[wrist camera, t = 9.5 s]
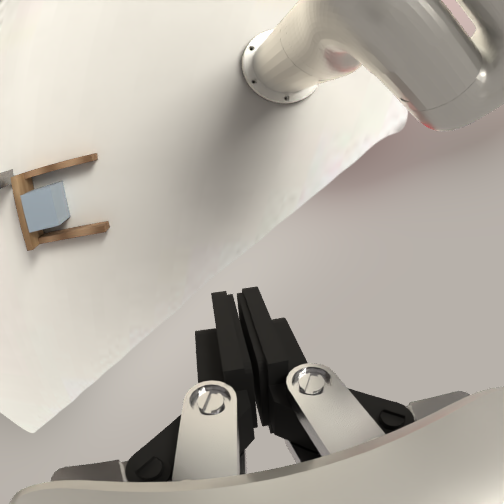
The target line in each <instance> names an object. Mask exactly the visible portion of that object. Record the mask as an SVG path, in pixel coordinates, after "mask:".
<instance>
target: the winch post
mask: <svg viewBox="0 0 504 504" xmlns="http://www.w3.org/2000/svg"><path fill="white" fill-rule="evenodd" d="M10 177H13V169H12V170H9V171H6V172H2V173H0V189H1V188H3V187H6V186H8V185H11V178H10Z"/></svg>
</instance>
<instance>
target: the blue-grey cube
mask: <svg viewBox="0 0 504 504" xmlns="http://www.w3.org/2000/svg"><path fill="white" fill-rule="evenodd" d="M20 197H21V202H22V206H23V210H24V214H25V218H26V222H27V226H28V229H29V233H30V232H34V231H38V230H42V229H46V228H50V227H55V226H59V225H60V224H61V223H63V222H64V221H65V220H67V219H68V218H69V217H70V213H69V208H68V204H67V199H66V195H65V190H64V185H63V181H61V182H57V183H54V184H50V185H47V186H43V187H40V188H37V189H34V190H32V191H29V192H27V193H25V194H23V195H21V196H20Z"/></svg>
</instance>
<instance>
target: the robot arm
mask: <svg viewBox="0 0 504 504" xmlns="http://www.w3.org/2000/svg"><path fill="white" fill-rule="evenodd" d="M456 2H457V3H458V4H459V5H460V7H461V8H462V9H463V10H464V12H465V13H466V14H467V16H468V17H469V18H470V20H471V21H472V22H473V24H474V25H475V27H476V31H475V33H474V35H473V36H472V37H471V38H470V37H469V36H468V35H467V33H466V31H465V30H464V29H463V27H462V26H461V25H460V24H459V22H458V21H457V20H456V19H455V17H454V16H453V15H452V13H451V11H450V10H449V9H448V8H447V7H446V5H445V4H444V3H443V2H442V1H441V0H299V1H298V2H297V3H296V5H295V6H294V7H293V8H292V9H291V10H290V12H289V13H288V14H287V15H286V16H285V17H284V18H283V19H282V20H281V22H280V23H279V24H278V25H277V26H276V27H275V28H274V29H273V30H268V31H265V32H262V33H260V34H259V35H257V36H256V37H254V38H253V39H252V40H251V41H250V42H249V44H248V45H247V47H246V49H245V51H244V53H243V57H242V71H243V74H244V77H245V79H246V81H247V83H248V84H249V86H250V87H251V88H252V89H253V90H254V91H255V92H256V93H257V94H258V95H260V96H261V97H263V98H265V99H267V100H269V101H272V102H276V103H293V102H297V101H300V100H303V99H305V98H306V97H308V96H310V95H311V94H312V93H313V92H314V91H315V90H316V88H317V87H318V85H319V84H321V83H324V82H327V81H330V80H334V79H337V78H340V77H343V76H346V75H349V74H351V73H353V72H354V71H356V70H357V69H358V68H360V67H361V66H362V65H363V66H364V67H365V68H366V69H367V70H368V71H370V72H371V73H372V74H374V75H375V76H376V77H377V78H378V79H379V80H380V81H381V82H382V83H383V84H384V85H385V86H386V87H387V88H388V89H389V90H390V91H391V92H392V93H393V94H394V95H395V97H396V98H397V99H398V100H399V101H400V102H401V103H402V104H403V105H404V106H405V107H406V109H407V110H408V111H409V112H410V113H411V114H412V115H413V116H414V117H415V118H416V119H417V120H418V121H419V122H420V123H422V124H423V125H425V126H426V127H428V128H430V129H433V130H436V131H453V130H457V129H460V128H463V127H465V126H467V125H469V124H471V123H474V122H476V121H477V120H479V119H481V118H482V117H484V116H486V115H487V114H489V113H490V112H492V111H494V110H495V109H497V108H498V107H500V106H501V105H503V104H504V0H456ZM250 48H251V49H252V51H250V50H249V49H250ZM252 81H254V82H255V83H254V84H253V83H252ZM284 97H286V98H287V99H286V100H285V99H284ZM211 295H212V302H213V309H214V316H215V323H216V329H208V330H200V331H195V340H196V356H197V372H198V384H196V385H195V386H193V387H192V388H190V389H189V391H188V392H187V393H186V395H185V398H184V402H183V409H182V414H181V415H180V416H179V417H178V418H177V419H175V420H174V421H173V422H172V423H171V424H170V425H169V426H167V427H166V428H165V429H164V430H163V431H162V432H160V433H159V434H158V435H157V436H156V437H155V438H153V439H152V440H151V441H150V442H149V443H147V444H146V445H145V446H144V447H142V448H141V449H140V450H139V451H138V452H136V453H135V454H134V455H133V456H132V457H131V458H130V459H129V461H125V462H120V461H119V460H114V461H107V462H101V463H94V464H87V465H79V466H70V467H64V468H60V469H58V470H57V471H56V472H55V473H54V474H53V476H52V478H51V482H44V483H40V484H36V485H32V486H29V487H27V488H24V489H22V490H20V491H19V492H18V493H16V494H15V495H14V497H13V498H12V500H11V501H10V503H9V504H504V387H496V388H490V389H487V390H483V391H480V392H477V393H474V394H472V395H469V394H468V393H466V392H462V391H457V392H452V393H449V394H444V395H440V396H436V397H432V398H428V399H423V400H419V401H414V402H410V403H409V405H408V406H404V405H402V404H399V403H397V402H393V401H389V400H386V399H382V398H379V397H375V396H372V395H368V394H365V393H361V392H358V391H355V390H352V389H348V388H347V387H346V386H345V385H344V384H343V382H342V381H341V380H340V379H339V378H338V376H337V375H336V374H335V373H334V372H333V371H332V370H331V369H330V368H328V367H326V366H324V365H321V364H317V363H307V361H306V359H305V357H304V355H303V353H302V351H301V349H300V347H299V345H298V343H297V341H296V339H295V336H294V334H293V332H292V331H291V328H290V326H289V324H288V322H287V320H286V319H285V318H279V319H273V320H271V318H270V315H269V313H268V311H267V308H266V306H265V303H264V301H263V299H262V296H261V294H260V292H259V289H258V287H251V288H244V289H242V293H237V300H238V309H239V317H238V313H237V309H236V306H235V302H234V298H233V294H230V295H227V293H226V291H223V292H215V293H211ZM255 401H256V404H257V408H258V412H259V416H260V420H261V423H262V426H267V425H268V426H269V429H270V433H274V434H275V435H277V436H279V437H282V438H284V439H285V443H286V445H287V447H288V449H289V451H290V453H291V454H292V456H293V458H294V460H295V462H296V463H297V464H293V465H289V466H285V467H281V468H276V469H271V470H266V471H261V472H255V473H249V474H247V469H246V450H245V449H246V448H247V447H248V445H249V444H250V443H251V442H252V441H253V440H254V429H253V428H257V427H258V425H257V414H256V404H255Z"/></svg>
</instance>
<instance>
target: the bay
mask: <svg viewBox="0 0 504 504" xmlns="http://www.w3.org/2000/svg"><path fill="white" fill-rule="evenodd" d="M97 159H98V158H97V153H95V154H91V155H86V156H82V157H78V158H74V159H70V160H66V161H63V162H59V163H55V164H52V165H48V166H45V167H41V168H38V169H35V170H31V171H28V172H25V173H22V174H19V175H16V176H13V177H10V178H11V184H12V189H13V194H14V199H15V204H16V209H17V213H18V217H19V221H20V225H21V229H22V233H23V237H24V240H25V244H26V247H27V251H29V250H33V249H34V248H35V247H37V246H38V245H39V244H42V243H48V242H53V241H58V240H63V239H69V238H74V237H80V236H85V235H91V234H97V233H103V232H106V231H107V230H108V228H109V227H110V226H109V222H108V221H106V222H100V223H95V224H89V225H84V226H79V227H73V228H68V229H63V230H58V231H53V232H48V233H44V232H43V229H42V230H38V231H34V232H30V233H29V229H28V226H27V222H26V218H25V214H24V210H23V206H22V202H21V197H20V196H21V195H23V194H25V193H27V192H29V191H32V190H34V187H33V182H32V177H33V176H37V175H40V174H43V173H47V172H51V171H54V170H58V169H62V168H66V167H70V166H74V165H78V164H82V163H86V162H90V161H94V160H97Z"/></svg>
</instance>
